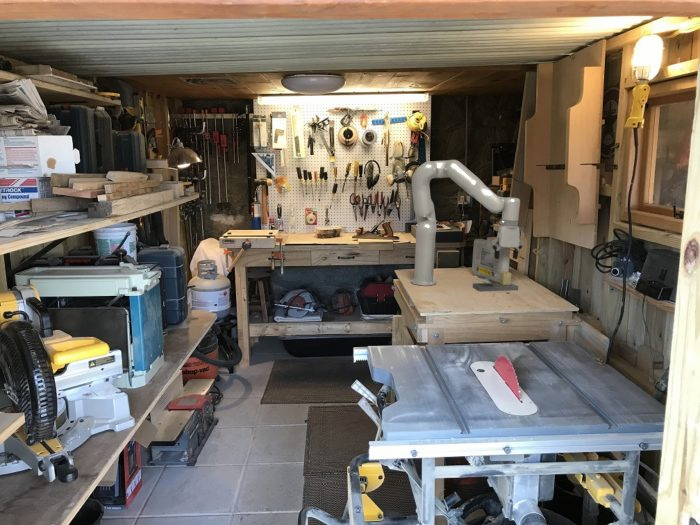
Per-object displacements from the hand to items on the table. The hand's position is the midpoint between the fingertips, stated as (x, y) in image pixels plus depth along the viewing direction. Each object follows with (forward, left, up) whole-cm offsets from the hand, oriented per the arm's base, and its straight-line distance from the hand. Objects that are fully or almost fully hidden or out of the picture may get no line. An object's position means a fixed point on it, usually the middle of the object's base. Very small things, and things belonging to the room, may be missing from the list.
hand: (505, 258), depth 264 cm
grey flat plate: (0, -5, -15) cm, 15 cm away
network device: (-17, 0, -15) cm, 22 cm away
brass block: (0, 0, -15) cm, 15 cm away
